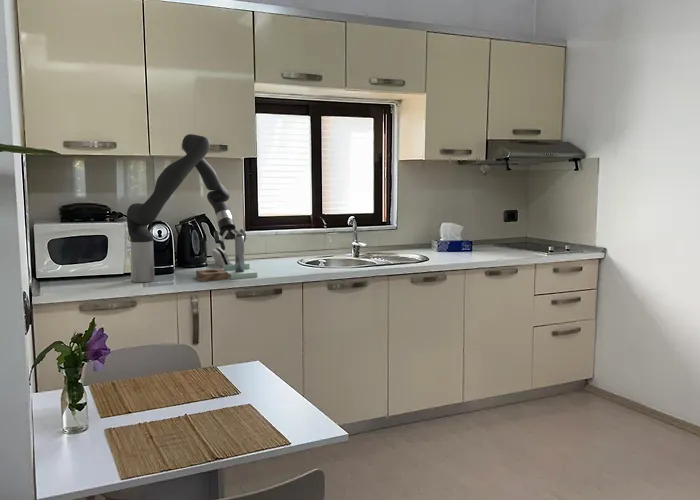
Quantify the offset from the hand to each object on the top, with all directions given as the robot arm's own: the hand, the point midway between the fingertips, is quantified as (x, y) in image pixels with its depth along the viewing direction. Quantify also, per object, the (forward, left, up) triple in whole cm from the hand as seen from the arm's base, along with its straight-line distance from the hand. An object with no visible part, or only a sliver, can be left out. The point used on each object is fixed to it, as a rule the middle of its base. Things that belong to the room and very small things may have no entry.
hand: (233, 248), depth 292 cm
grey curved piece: (+1, +22, -11) cm, 25 cm away
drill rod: (0, -10, -9) cm, 14 cm away
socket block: (-13, -10, -11) cm, 20 cm away
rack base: (0, -10, -11) cm, 15 cm away
